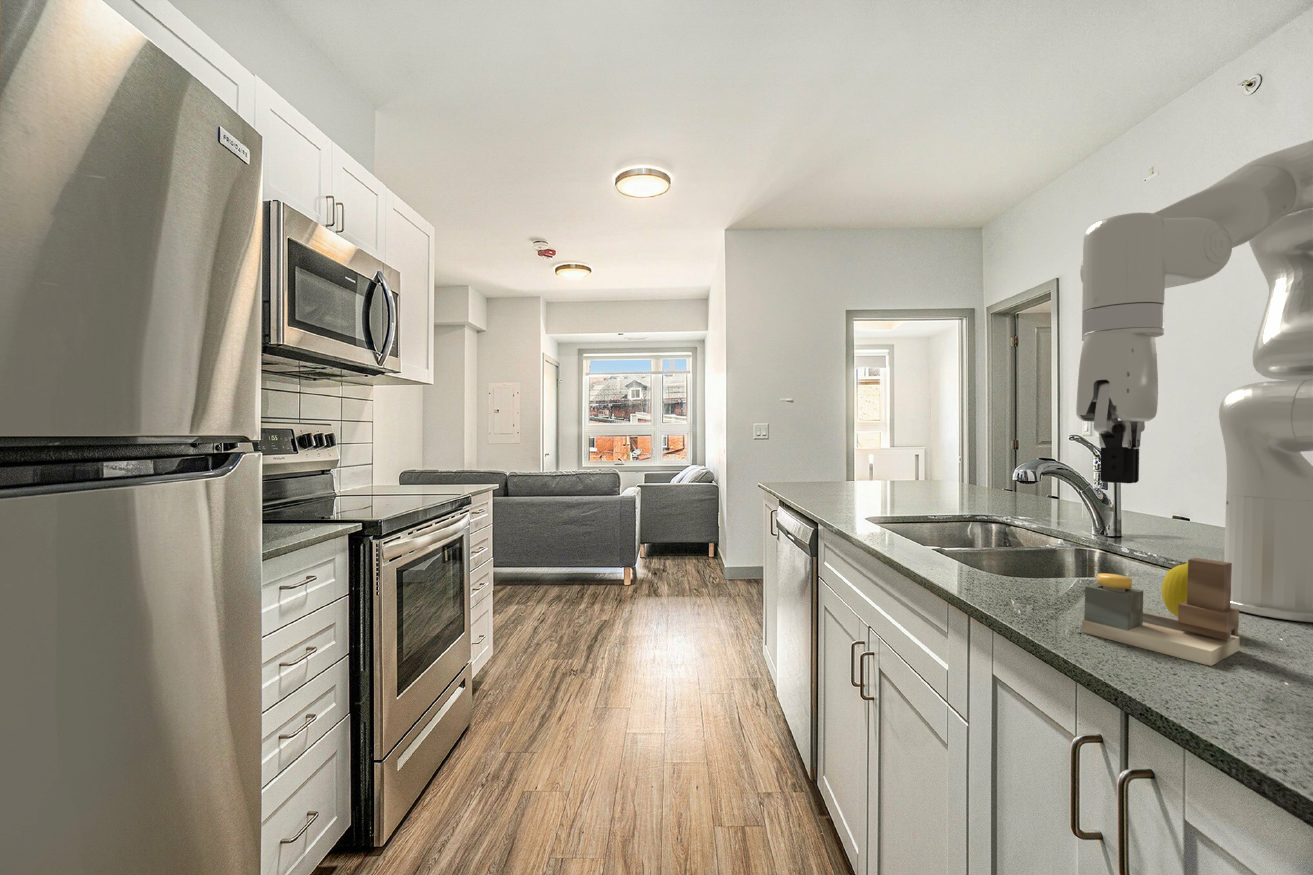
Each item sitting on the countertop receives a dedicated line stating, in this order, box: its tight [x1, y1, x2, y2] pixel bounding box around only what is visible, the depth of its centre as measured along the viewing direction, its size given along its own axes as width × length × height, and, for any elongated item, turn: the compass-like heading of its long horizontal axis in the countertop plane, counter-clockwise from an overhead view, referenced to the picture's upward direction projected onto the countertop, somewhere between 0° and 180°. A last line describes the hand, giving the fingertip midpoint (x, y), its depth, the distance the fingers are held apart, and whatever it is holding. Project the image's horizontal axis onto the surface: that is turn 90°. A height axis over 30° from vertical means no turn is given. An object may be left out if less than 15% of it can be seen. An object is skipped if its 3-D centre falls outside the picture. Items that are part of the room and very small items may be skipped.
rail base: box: [1081, 582, 1241, 667], centre depth 67 cm, size 9×12×6 cm
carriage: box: [1177, 557, 1240, 640], centre depth 65 cm, size 4×4×8 cm
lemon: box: [1161, 561, 1188, 618], centre depth 73 cm, size 6×6×8 cm
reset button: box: [1096, 573, 1133, 593], centre depth 69 cm, size 3×3×5 cm
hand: (1119, 481), depth 69 cm, fingers closed
